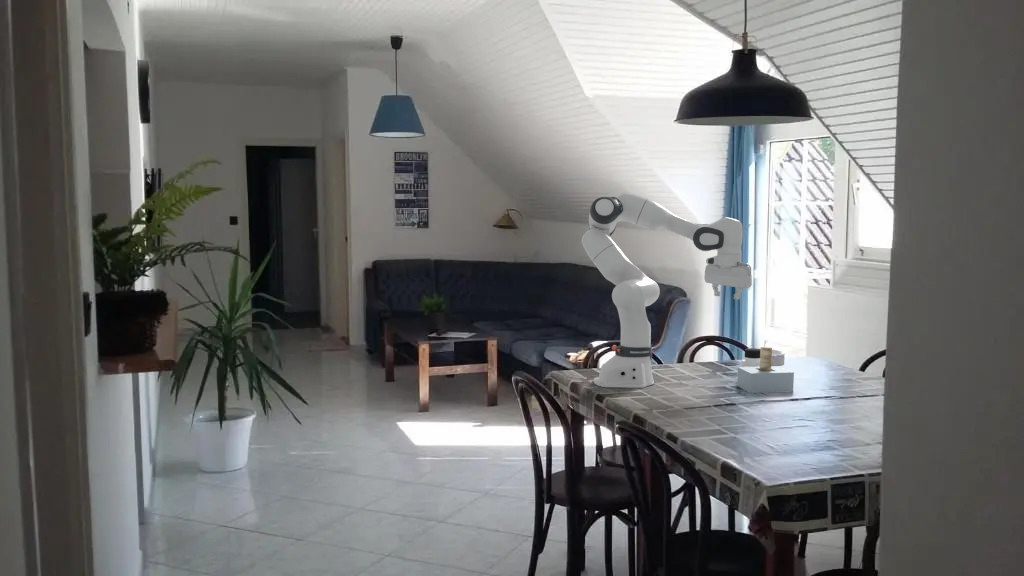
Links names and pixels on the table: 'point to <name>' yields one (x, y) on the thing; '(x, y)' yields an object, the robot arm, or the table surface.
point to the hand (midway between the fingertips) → (726, 297)
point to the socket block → (765, 379)
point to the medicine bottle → (751, 358)
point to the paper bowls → (777, 357)
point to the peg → (765, 358)
